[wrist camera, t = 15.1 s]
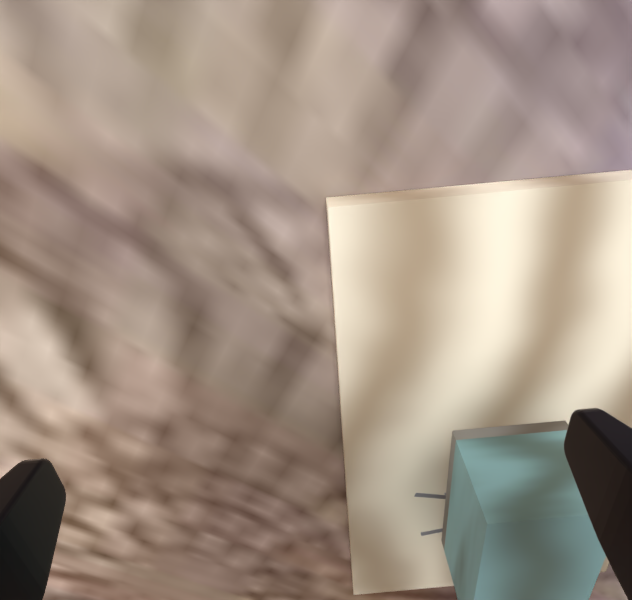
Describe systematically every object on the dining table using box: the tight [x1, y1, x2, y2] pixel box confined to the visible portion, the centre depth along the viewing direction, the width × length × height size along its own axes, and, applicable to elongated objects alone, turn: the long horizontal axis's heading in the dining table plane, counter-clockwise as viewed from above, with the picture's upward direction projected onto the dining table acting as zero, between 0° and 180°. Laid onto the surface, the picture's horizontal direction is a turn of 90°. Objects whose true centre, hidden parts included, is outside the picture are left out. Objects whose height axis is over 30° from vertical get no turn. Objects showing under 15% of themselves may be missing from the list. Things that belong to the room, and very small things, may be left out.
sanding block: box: [441, 421, 606, 600], centre depth 25 cm, size 6×9×5 cm, turn 4°
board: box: [326, 170, 632, 595], centre depth 25 cm, size 16×26×1 cm, turn 4°
